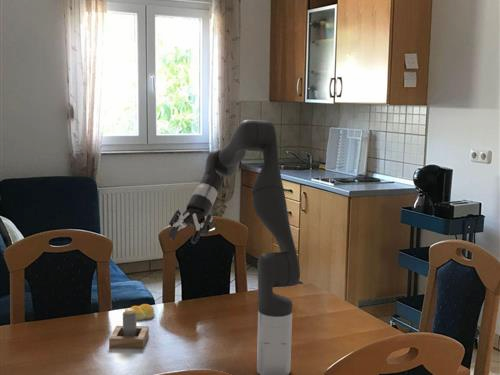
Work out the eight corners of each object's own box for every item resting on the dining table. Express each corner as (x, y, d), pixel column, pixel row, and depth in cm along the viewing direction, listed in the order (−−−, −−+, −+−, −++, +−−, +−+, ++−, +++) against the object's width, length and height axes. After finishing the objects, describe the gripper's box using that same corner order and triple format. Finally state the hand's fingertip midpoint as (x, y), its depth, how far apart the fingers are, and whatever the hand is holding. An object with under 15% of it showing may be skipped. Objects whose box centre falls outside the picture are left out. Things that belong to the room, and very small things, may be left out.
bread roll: (124, 314, 203) (124, 303, 202) (150, 311, 207) (150, 300, 206) (130, 322, 196) (130, 311, 195) (157, 319, 199) (157, 307, 199)
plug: (135, 344, 178) (134, 312, 176) (121, 344, 178) (121, 312, 176) (137, 339, 182) (137, 307, 180) (124, 338, 182) (124, 307, 180)
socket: (143, 348, 175) (142, 339, 174) (109, 348, 175) (109, 338, 174) (148, 335, 185) (148, 326, 184) (116, 334, 185) (116, 325, 184)
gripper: (180, 191, 197) (158, 231, 189) (216, 195, 191) (195, 237, 182) (189, 204, 203) (168, 244, 195) (224, 209, 196) (204, 250, 188)
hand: (181, 240), depth 188 cm, fingers open, 8 cm apart
